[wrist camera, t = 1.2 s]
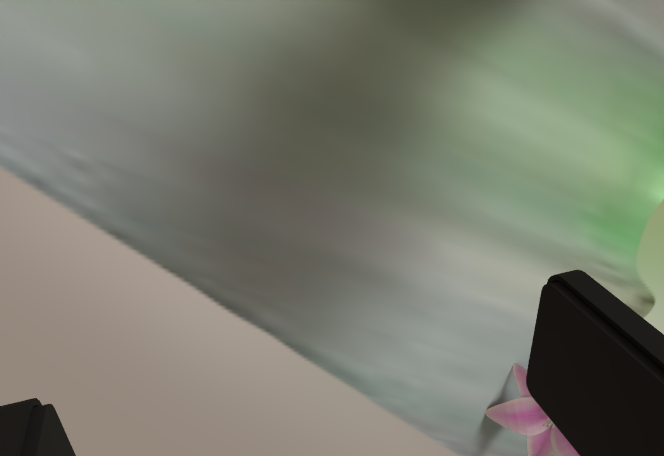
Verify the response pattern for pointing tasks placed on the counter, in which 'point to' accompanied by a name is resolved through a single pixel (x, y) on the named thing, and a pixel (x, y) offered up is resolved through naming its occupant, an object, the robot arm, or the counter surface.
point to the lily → (531, 422)
